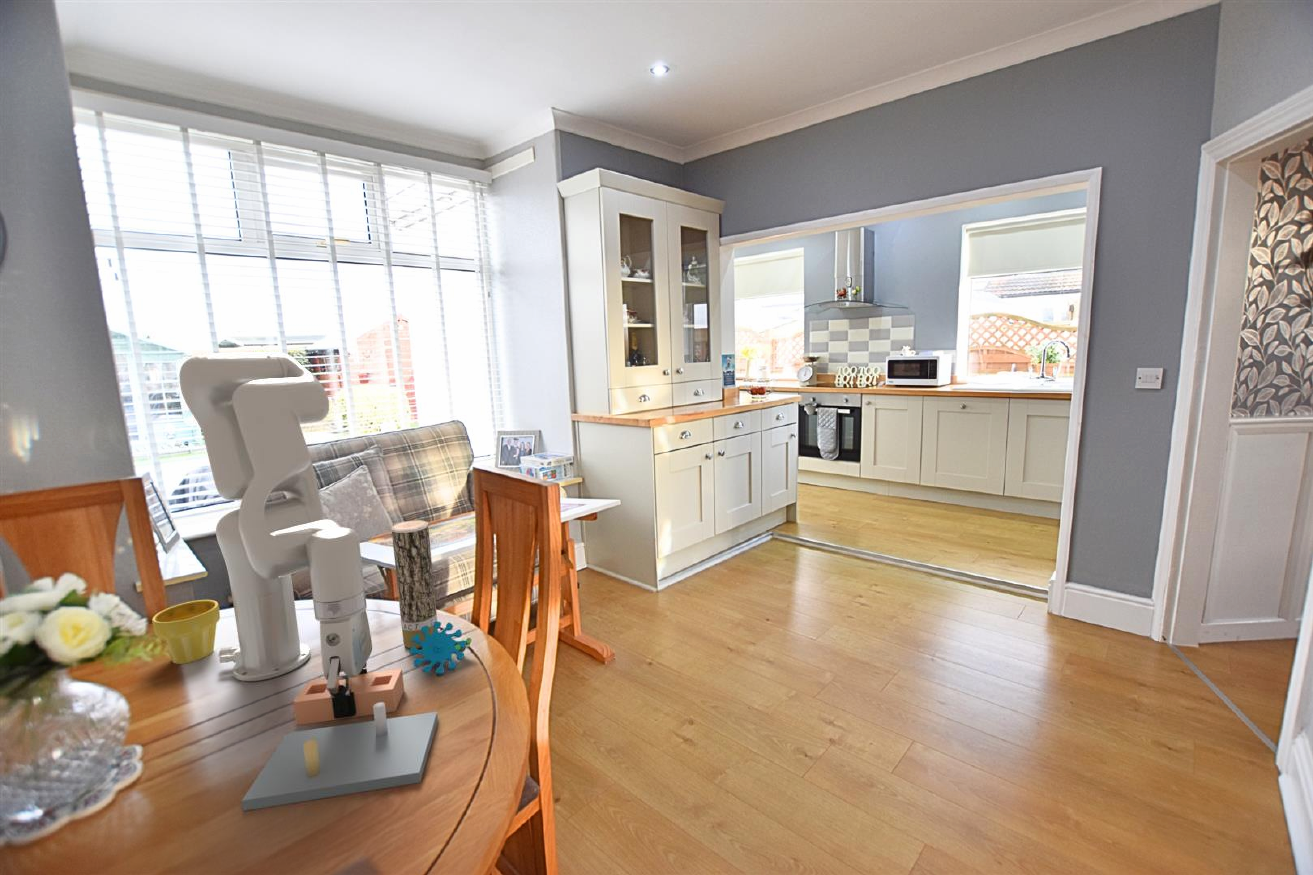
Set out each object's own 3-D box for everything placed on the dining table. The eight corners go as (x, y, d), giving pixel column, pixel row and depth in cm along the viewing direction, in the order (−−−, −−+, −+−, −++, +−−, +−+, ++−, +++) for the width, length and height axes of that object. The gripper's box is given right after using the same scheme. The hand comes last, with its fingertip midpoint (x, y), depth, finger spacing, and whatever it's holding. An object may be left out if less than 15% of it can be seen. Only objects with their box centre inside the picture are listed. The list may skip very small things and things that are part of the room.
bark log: (426, 631, 124) (415, 518, 121) (445, 639, 120) (434, 523, 117) (397, 644, 119) (384, 527, 115) (415, 653, 115) (403, 532, 111)
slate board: (243, 810, 76) (236, 769, 75) (288, 741, 89) (283, 705, 89) (420, 782, 80) (416, 742, 79) (437, 720, 94) (434, 685, 93)
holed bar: (296, 724, 94) (293, 702, 93) (311, 701, 100) (309, 680, 99) (395, 711, 96) (392, 688, 96) (404, 689, 103) (401, 668, 102)
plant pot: (190, 671, 111) (182, 623, 110) (145, 667, 113) (137, 620, 112) (237, 644, 121) (230, 600, 120) (196, 641, 123) (189, 598, 122)
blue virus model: (411, 676, 104) (409, 622, 109) (407, 687, 108) (406, 634, 113) (474, 667, 109) (470, 616, 115) (469, 678, 113) (465, 628, 119)
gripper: (347, 624, 88) (360, 732, 90) (379, 581, 104) (389, 673, 107) (293, 630, 86) (308, 740, 89) (334, 585, 103) (345, 679, 106)
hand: (352, 702), depth 98 cm, fingers closed on holed bar, 6 cm apart
